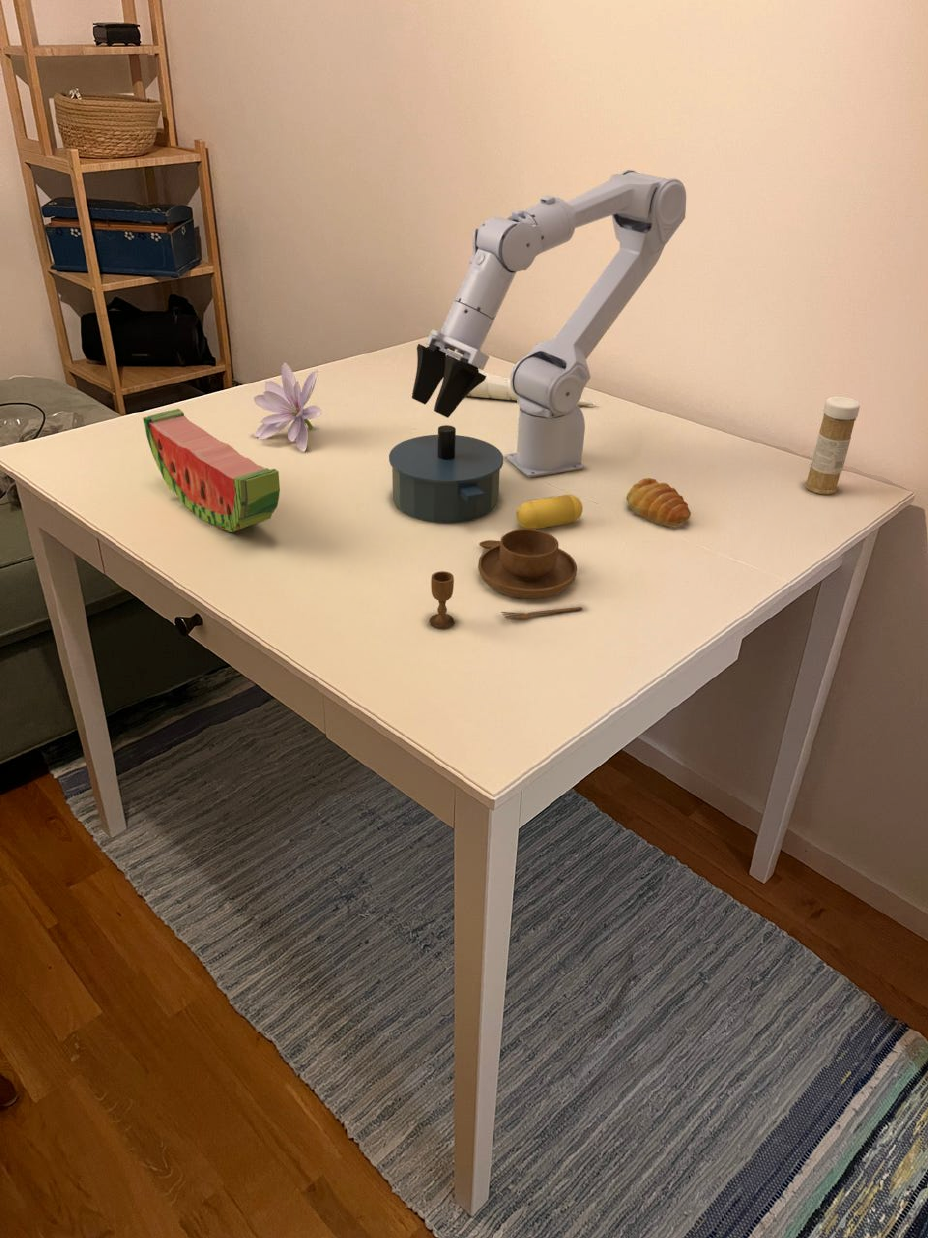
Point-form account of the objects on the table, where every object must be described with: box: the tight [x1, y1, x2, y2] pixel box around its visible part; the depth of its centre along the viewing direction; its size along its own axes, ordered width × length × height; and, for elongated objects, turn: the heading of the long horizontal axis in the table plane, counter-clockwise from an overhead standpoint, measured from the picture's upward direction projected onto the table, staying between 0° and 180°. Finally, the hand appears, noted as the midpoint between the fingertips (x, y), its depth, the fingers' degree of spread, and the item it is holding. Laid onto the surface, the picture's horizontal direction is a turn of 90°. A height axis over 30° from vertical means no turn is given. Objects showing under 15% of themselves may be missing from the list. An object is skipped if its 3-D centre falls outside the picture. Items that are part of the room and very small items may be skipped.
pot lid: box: [388, 424, 504, 484], centre depth 126 cm, size 16×16×5 cm
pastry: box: [625, 477, 692, 528], centre depth 127 cm, size 9×7×4 cm
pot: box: [391, 467, 501, 524], centre depth 129 cm, size 15×20×6 cm
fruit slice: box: [142, 408, 281, 533], centre depth 123 cm, size 26×6×10 cm, turn 41°
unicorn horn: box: [466, 370, 596, 406], centre depth 162 cm, size 5×24×5 cm, turn 75°
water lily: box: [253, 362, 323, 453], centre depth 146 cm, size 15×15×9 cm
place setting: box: [428, 528, 583, 630], centre depth 110 cm, size 18×20×6 cm
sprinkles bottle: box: [805, 395, 861, 495], centre depth 133 cm, size 5×5×14 cm
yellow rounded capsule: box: [516, 494, 584, 530], centre depth 124 cm, size 9×4×4 cm, turn 114°
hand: (429, 407), depth 124 cm, fingers open, 7 cm apart
